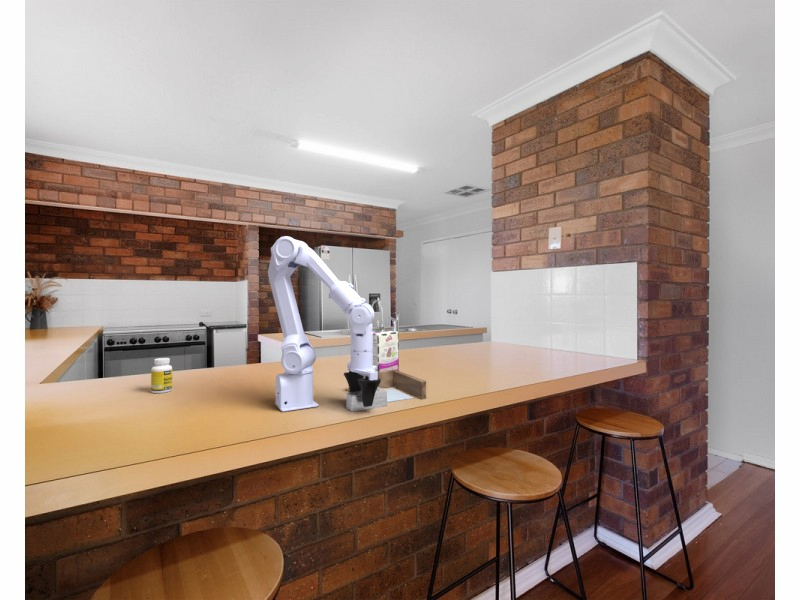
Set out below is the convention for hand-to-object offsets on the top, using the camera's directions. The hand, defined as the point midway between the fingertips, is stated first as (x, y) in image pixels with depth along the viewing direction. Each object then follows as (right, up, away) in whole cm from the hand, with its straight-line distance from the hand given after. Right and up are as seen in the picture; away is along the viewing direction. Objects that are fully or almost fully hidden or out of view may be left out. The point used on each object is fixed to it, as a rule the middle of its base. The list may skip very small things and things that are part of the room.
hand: (361, 402), depth 100 cm
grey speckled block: (0, -1, +3) cm, 3 cm away
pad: (+7, -1, +12) cm, 14 cm away
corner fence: (+5, -1, +12) cm, 13 cm away
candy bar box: (+4, -1, +31) cm, 32 cm away
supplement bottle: (-61, -1, +15) cm, 63 cm away
